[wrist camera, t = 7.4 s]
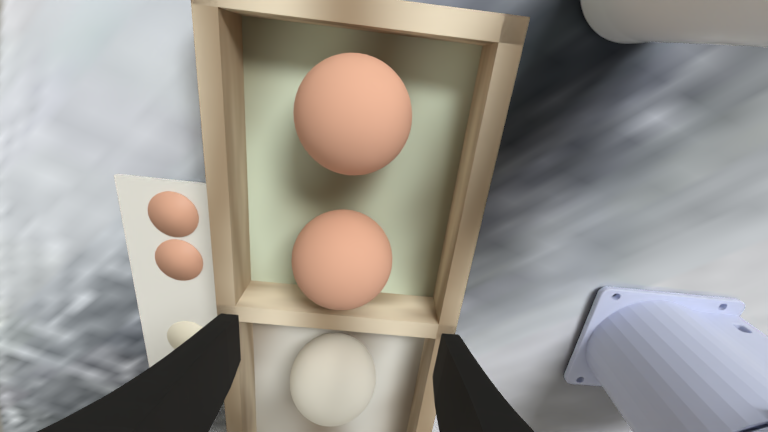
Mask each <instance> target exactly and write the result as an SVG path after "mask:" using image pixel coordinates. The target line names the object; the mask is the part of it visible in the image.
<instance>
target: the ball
mask: <svg viewBox="0 0 768 432" xmlns="http://www.w3.org/2000/svg"><path fill="white" fill-rule="evenodd" d="M293 113H294V124H295V129H296V132H297V135H298V137H299V140H300V142H301V144H302V145H303V147H304V149H305V150H306V151H307V152H308V154H309V155H310V156H311V157H312V158H313V159H314V160H315V161H316V162H318V163H319V164H320V165H322V166H323V167H325V168H327V169H329V170H331V171H333V172H336V173H340V174H344V175H364V174H369V173H372V172H375V171H377V170H379V169H381V168H383V167H385V166H386V165H388V164H389V163H390V162H391V161H392V160H394V159H395V158H396V157H397V155H398V154H399V153H400V152H401V150H402V149H403V147H404V146H405V144H406V141H407V139H408V137H409V134H410V130H411V125H412V107H411V101H410V97H409V94H408V91H407V89H406V87H405V85H404V83H403V82H402V80H401V79H400V77H399V76H398V75H397V74H396V72H395V71H394V70H393V69H392V68H391V67H389V66H388V65H387V64H385V63H384V62H383V61H381V60H379V59H377V58H375V57H372V56H369V55H367V54H361V53H341V54H337V55H334V56H331V57H329V58H326V59H324V60H323V61H321V62H319V63H318V64H317V65H315V66H314V67H313V68H312V69H311V70H310V71H309V72H308V73H307V74H306V76H305V77H304V79H303V80H302V82H301V84H300V86H299V88H298V91H297V94H296V97H295V102H294V111H293Z"/></svg>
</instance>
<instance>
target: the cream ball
mask: <svg viewBox="0 0 768 432" xmlns="http://www.w3.org/2000/svg"><path fill="white" fill-rule="evenodd" d="M375 384H376V370H375V365H374V361H373V359H372V357H371V354H370V353H369V351H368V350H367V348H366V347H365V346H364V345H363V344H362V343H361V342H360V341H359V340H357V339H356V338H354V337H352V336H350V335H347V334H343V333H328V334H324V335H321V336H318V337H316V338H314V339H313V340H311V341H310V342H309V343H307V344H306V345H305V346H304V347H303V348H302V349H301V351H300V352H299V353H298V355H297V357H296V359H295V361H294V363H293V366H292V369H291V373H290V392H291V396H292V399H293V401H294V404H295V405H296V407H297V409H298V410H299V411H300V413H301V414H302V415H303V416H304V417H305V418H307V419H308V420H310V421H311V422H313V423H315V424H318V425H321V426H328V427H333V426H339V425H343V424H346V423H348V422H350V421H352V420H353V419H355V418H356V417H358V416H359V415H360V414H361V413H362V412H363V411H364V409H365V408H366V407H367V405H368V404H369V402H370V400H371V398H372V395H373V393H374V389H375Z"/></svg>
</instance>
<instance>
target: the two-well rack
mask: <svg viewBox="0 0 768 432" xmlns="http://www.w3.org/2000/svg"><path fill="white" fill-rule="evenodd" d="M191 7H192V19H193V31H194V43H195V55H196V67H197V80H198V92H199V104H200V116H201V128H202V140H203V152H204V164H205V176H206V188H207V200H208V212H209V224H210V236H211V248H212V260H213V272H214V284H215V296H216V308H217V316H218V315H219V314H221V313H224V314H235V315H239V333H240V351H241V361H240V364H239V367H238V369H237V372H236V375H235V378H234V380H233V383H232V385H231V388H230V390H229V392H228V394H227V396H226V398H225V400H224V404H225V416H226V428H227V432H432V428H433V424H434V420H435V416H436V409H435V403H434V392H433V378H432V376H433V371H434V366H435V362H436V357H437V353H438V348H439V344H440V339H441V334H442V333H445V334H455V331H456V327H457V323H458V319H459V315H460V310H461V306H462V302H463V298H464V293H465V289H466V285H467V281H468V277H469V272H470V268H471V264H472V260H473V255H474V251H475V247H476V243H477V239H478V234H479V230H480V226H481V222H482V218H483V213H484V209H485V205H486V201H487V196H488V192H489V188H490V184H491V180H492V175H493V171H494V167H495V163H496V159H497V154H498V150H499V146H500V142H501V137H502V133H503V129H504V125H505V121H506V116H507V112H508V108H509V104H510V100H511V95H512V91H513V87H514V83H515V78H516V74H517V70H518V66H519V62H520V57H521V53H522V49H523V45H524V40H525V36H526V32H527V28H528V24H529V19H530V17H525V16H517V15H509V14H502V13H494V12H486V11H479V10H471V9H463V8H456V7H448V6H440V5H433V4H425V3H417V2H409V1H402V0H191ZM341 53H361V54H367V55H369V56H372V57H375V58H377V59H379V60H381V61H383V62H384V63H385V64H387V65H388V66H389V67H391V68H392V69H393V70H394V71H395V72H396V74H397V75H398V76H399V77H400V79H401V80H402V82H403V83H404V85H405V87H406V89H407V91H408V94H409V97H410V101H411V107H412V125H411V130H410V134H409V137H408V139H407V141H406V144H405V146H404V147H403V149H402V150H401V152H400V153H399V154H398V155H397V157H396V158H395V159H394V160H392V161H391V162H390V163H389V164H388V165H386V166H385V167H383V168H381V169H379V170H377V171H375V172H372V173H369V174H364V175H344V174H340V173H336V172H333V171H331V170H329V169H327V168H325V167H323V166H322V165H320V164H319V163H318V162H316V161H315V160H314V159H313V158H312V157H311V156H310V155H309V154H308V152H307V151H306V150H305V149H304V147H303V145H302V144H301V142H300V140H299V137H298V135H297V132H296V129H295V124H294V113H293V111H294V102H295V97H296V94H297V91H298V88H299V86H300V84H301V82H302V80H303V79H304V77H305V76H306V74H307V73H308V72H309V71H310V70H311V69H312V68H313V67H314V66H315V65H317V64H318V63H319V62H321V61H323V60H324V59H326V58H329V57H331V56H334V55H337V54H341ZM339 209H346V210H354V211H357V212H360V213H363V214H365V215H367V216H368V217H370V218H371V219H373V220H374V221H375V222H376V223H377V224H378V225H379V226H380V227H381V228H382V229H383V231H384V232H385V234H386V236H387V238H388V240H389V242H390V246H391V250H392V269H391V273H390V276H389V279H388V281H387V283H386V285H385V286H384V288H383V289H382V291H381V292H380V293H379V294H378V295H377V296H376V297H375V298H374V299H373V300H371V301H370V302H368V303H367V304H365V305H363V306H361V307H358V308H355V309H350V310H332V309H328V308H325V307H322V306H320V305H318V304H316V303H314V302H313V301H312V300H310V299H309V298H308V297H307V296H306V295H305V294H304V293H303V292H302V291H301V289H300V288H299V286H298V284H297V282H296V280H295V278H294V275H293V270H292V262H291V260H292V251H293V247H294V243H295V241H296V239H297V237H298V235H299V233H300V232H301V230H302V229H303V228H304V227H305V225H306V224H308V223H309V222H310V221H311V220H312V219H314V218H315V217H317V216H318V215H320V214H323V213H325V212H328V211H332V210H339ZM328 333H343V334H347V335H350V336H352V337H354V338H356V339H357V340H359V341H360V342H361V343H362V344H363V345H364V346H365V347H366V348H367V350H368V351H369V353H370V354H371V357H372V359H373V361H374V365H375V370H376V384H375V389H374V393H373V395H372V398H371V400H370V402H369V404H368V405H367V407H366V408H365V409H364V411H363V412H362V413H361V414H360V415H359V416H358V417H356V418H355V419H353V420H352V421H350V422H348V423H346V424H343V425H339V426H333V427H328V426H321V425H318V424H315V423H313V422H311V421H310V420H308V419H307V418H305V417H304V416H303V415H302V414H301V413H300V411H299V410H298V409H297V407H296V405H295V404H294V401H293V399H292V396H291V392H290V373H291V369H292V366H293V363H294V361H295V359H296V357H297V355H298V353H299V352H300V351H301V349H302V348H303V347H304V346H305V345H306V344H307V343H309V342H310V341H311V340H313V339H314V338H316V337H318V336H321V335H324V334H328Z"/></svg>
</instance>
